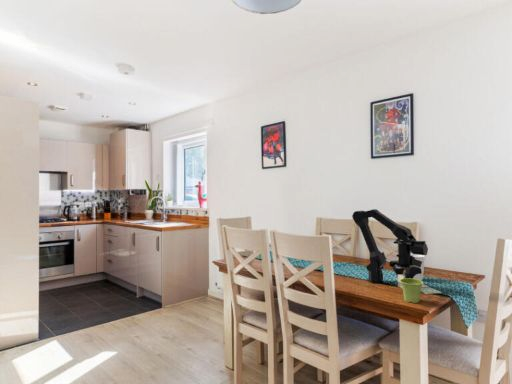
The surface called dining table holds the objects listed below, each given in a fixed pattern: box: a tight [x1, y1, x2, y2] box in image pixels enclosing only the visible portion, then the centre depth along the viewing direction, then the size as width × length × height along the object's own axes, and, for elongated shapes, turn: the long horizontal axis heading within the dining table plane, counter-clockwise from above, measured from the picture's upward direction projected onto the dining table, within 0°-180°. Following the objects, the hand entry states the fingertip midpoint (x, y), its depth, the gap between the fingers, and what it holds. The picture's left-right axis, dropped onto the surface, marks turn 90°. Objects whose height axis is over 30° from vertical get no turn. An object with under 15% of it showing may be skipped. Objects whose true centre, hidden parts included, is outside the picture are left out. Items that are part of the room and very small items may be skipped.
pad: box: [421, 287, 443, 295], centre depth 158 cm, size 8×8×1 cm
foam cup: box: [410, 253, 426, 281], centre depth 179 cm, size 10×9×13 cm
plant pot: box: [400, 278, 424, 304], centre depth 145 cm, size 9×9×9 cm
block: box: [397, 273, 405, 289], centre depth 165 cm, size 5×5×6 cm
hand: (405, 284), depth 165 cm, fingers open, 7 cm apart
